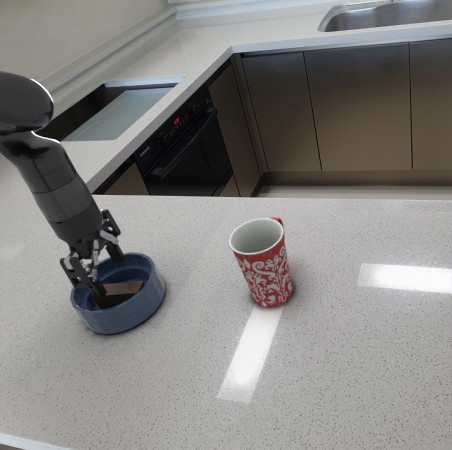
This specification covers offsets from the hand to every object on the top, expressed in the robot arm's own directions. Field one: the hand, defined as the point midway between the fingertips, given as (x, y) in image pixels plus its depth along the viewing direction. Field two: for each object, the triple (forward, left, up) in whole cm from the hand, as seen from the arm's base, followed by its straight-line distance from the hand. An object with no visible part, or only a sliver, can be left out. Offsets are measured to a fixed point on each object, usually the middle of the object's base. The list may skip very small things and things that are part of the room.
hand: (110, 277), depth 82 cm
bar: (0, 0, -6) cm, 6 cm away
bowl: (0, 0, -7) cm, 7 cm away
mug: (+17, -23, -7) cm, 30 cm away
